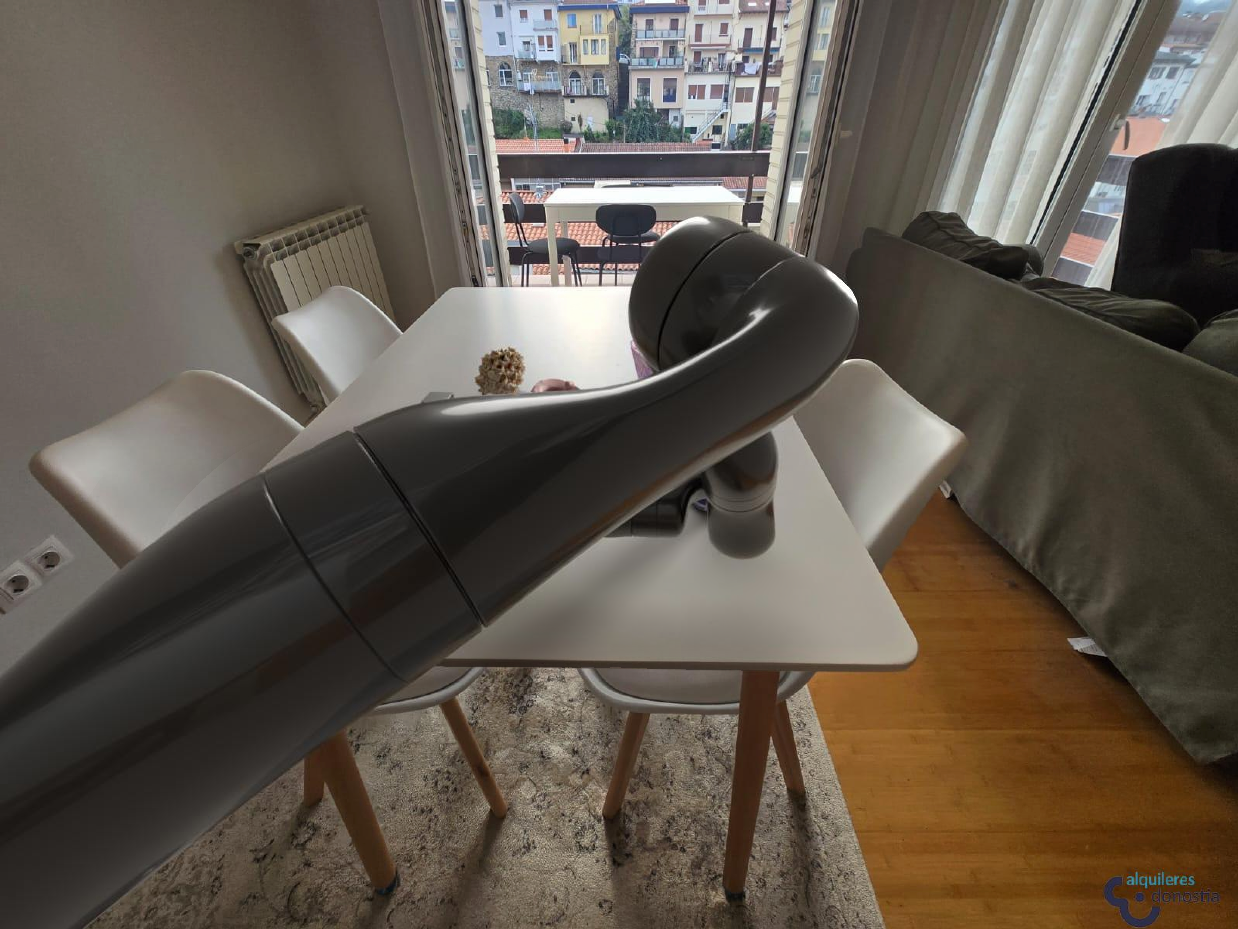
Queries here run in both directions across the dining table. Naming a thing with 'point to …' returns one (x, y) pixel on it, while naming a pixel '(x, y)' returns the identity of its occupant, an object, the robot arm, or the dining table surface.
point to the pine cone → (500, 372)
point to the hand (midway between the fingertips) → (448, 497)
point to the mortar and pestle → (554, 386)
